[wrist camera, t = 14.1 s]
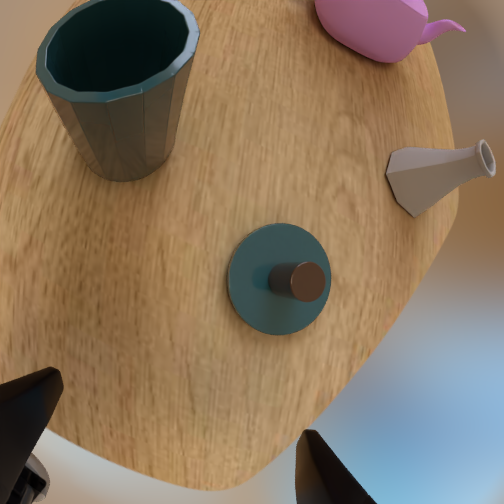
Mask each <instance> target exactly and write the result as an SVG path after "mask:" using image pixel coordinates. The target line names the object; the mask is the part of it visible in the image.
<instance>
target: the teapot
mask: <svg viewBox="0 0 504 504" xmlns="http://www.w3.org/2000/svg"><path fill="white" fill-rule="evenodd" d="M315 7H316V12H317V15H318V17H319V20H320V22H321V24H322V25H323V27H324V28H325V30H326V31H327V32H328V33H329V34H330V35H331V36H332V37H333V38H335V39H336V40H337V41H339V42H340V43H342V44H344V45H345V46H347V47H349V48H351V49H352V50H354V51H356V52H358V53H360V54H362V55H364V56H366V57H368V58H371V59H373V60H375V61H378V62H386V63H392V62H399V61H401V60H403V59H404V58H405V57H406V56H407V55H408V54H409V53H410V52H411V51H412V50H413V49H414V47H415V46H416V45H421V44H425V43H428V42H430V41H432V40H433V39H435V38H436V37H438V36H439V35H441V34H442V33H444V32H447V31H450V30H457V31H462V32H466V30H465V29H464V28H463V27H462V26H460V25H459V24H457V23H456V22H454V21H452V20H439V21H436V22H433V23H429V24H426V23H427V20H428V11H427V8H426V5H425V4H424V2H423V0H315Z"/></svg>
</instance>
